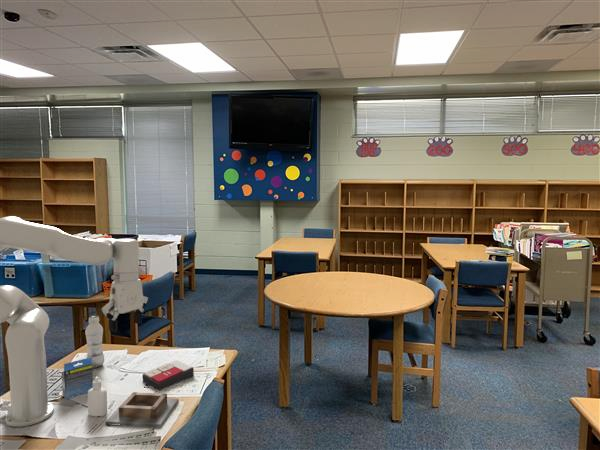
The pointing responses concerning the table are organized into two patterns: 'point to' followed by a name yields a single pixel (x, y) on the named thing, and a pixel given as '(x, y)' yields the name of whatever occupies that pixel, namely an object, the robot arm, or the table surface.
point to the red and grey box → (168, 375)
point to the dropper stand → (143, 410)
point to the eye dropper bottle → (97, 399)
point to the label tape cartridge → (77, 378)
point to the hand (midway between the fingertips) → (125, 327)
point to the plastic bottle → (94, 341)
